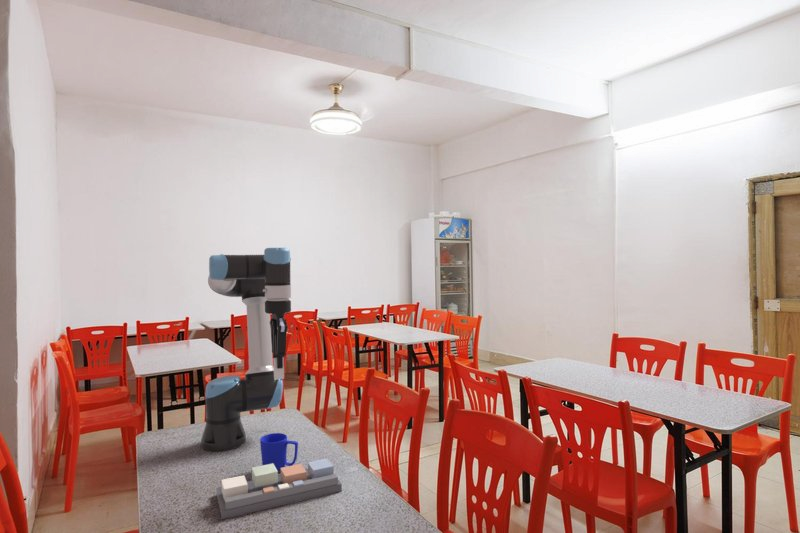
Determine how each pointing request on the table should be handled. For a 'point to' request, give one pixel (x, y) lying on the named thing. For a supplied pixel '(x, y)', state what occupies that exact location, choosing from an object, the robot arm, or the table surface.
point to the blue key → (320, 468)
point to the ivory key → (234, 486)
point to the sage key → (264, 475)
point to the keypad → (276, 494)
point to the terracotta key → (293, 474)
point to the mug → (276, 450)
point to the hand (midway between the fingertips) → (279, 378)
